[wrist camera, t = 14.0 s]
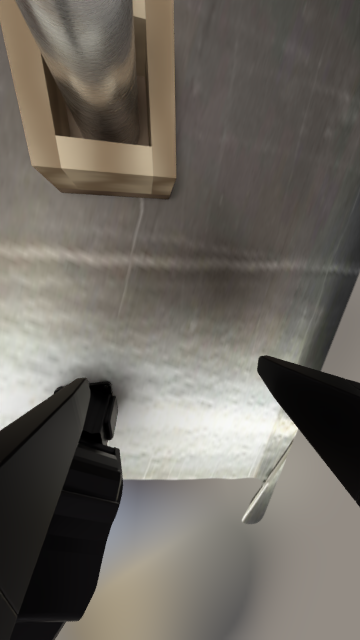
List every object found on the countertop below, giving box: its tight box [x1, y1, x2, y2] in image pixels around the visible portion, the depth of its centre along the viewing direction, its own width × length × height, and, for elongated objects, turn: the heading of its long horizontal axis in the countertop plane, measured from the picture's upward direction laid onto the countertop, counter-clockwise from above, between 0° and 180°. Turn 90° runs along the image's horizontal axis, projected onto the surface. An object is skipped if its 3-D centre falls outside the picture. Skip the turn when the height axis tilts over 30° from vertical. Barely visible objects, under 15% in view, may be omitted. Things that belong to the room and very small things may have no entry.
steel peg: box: [15, 0, 139, 145], centre depth 8 cm, size 5×5×13 cm
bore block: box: [0, 0, 176, 199], centre depth 13 cm, size 10×10×4 cm
